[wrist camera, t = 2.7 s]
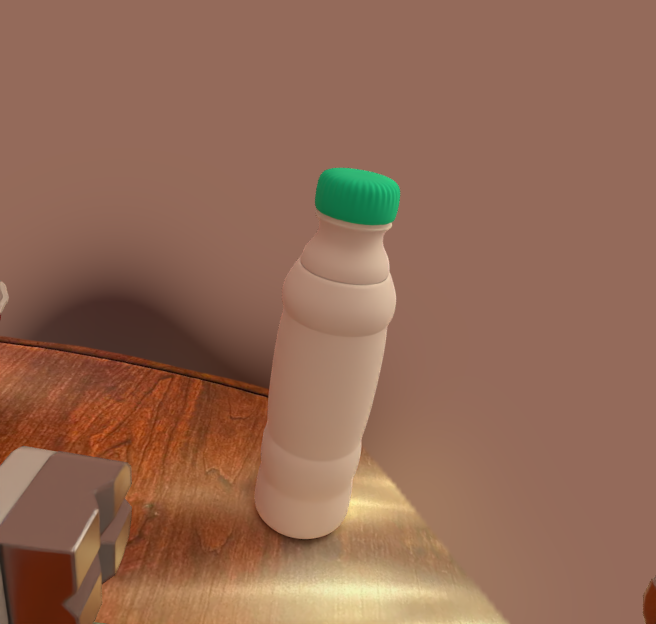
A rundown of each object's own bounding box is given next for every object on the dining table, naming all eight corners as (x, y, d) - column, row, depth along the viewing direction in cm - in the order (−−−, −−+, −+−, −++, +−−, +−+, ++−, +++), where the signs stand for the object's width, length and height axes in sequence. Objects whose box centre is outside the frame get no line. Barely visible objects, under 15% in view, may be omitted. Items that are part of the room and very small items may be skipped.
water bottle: (364, 523, 40) (450, 192, 29) (282, 559, 36) (346, 191, 26) (314, 463, 45) (372, 161, 34) (237, 488, 41) (276, 157, 31)
